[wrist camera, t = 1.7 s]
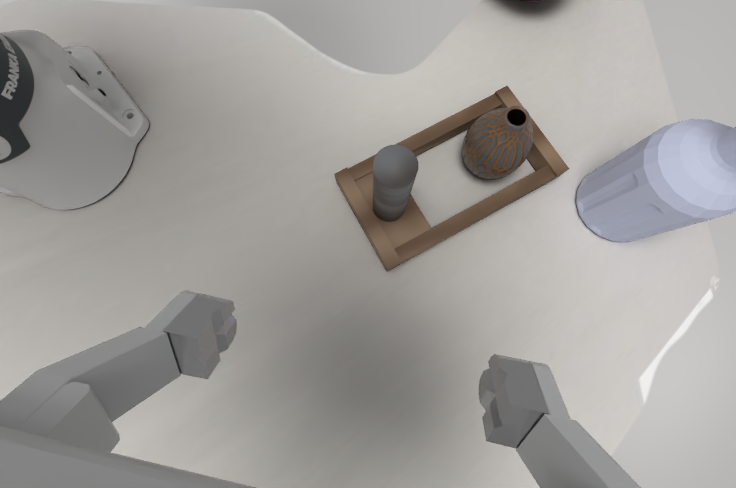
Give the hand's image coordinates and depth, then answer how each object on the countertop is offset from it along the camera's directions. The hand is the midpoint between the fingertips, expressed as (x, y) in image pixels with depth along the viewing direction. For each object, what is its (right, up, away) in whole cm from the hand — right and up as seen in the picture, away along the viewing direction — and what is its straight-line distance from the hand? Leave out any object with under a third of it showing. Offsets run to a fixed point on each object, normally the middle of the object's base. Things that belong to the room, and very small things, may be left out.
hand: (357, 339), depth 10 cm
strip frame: (+10, +11, +28) cm, 31 cm away
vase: (+14, +13, +29) cm, 35 cm away
